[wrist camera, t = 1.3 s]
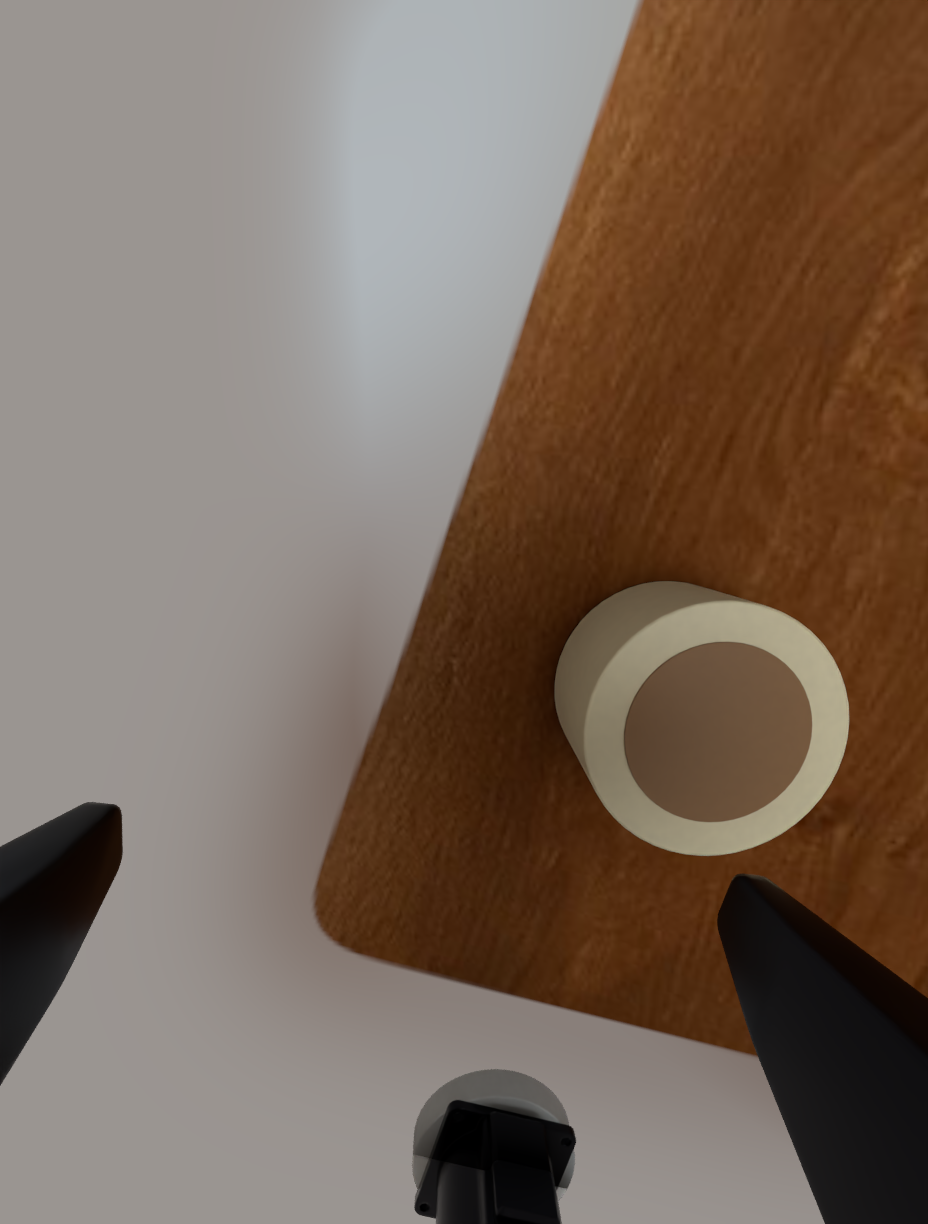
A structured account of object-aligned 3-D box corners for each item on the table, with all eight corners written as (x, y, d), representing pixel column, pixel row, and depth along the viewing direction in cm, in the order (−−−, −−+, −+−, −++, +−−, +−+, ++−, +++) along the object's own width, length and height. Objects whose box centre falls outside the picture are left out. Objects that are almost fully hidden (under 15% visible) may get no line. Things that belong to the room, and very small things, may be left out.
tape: (718, 808, 23) (790, 886, 18) (525, 753, 22) (547, 819, 17) (796, 616, 22) (896, 646, 17) (595, 553, 21) (639, 565, 16)
